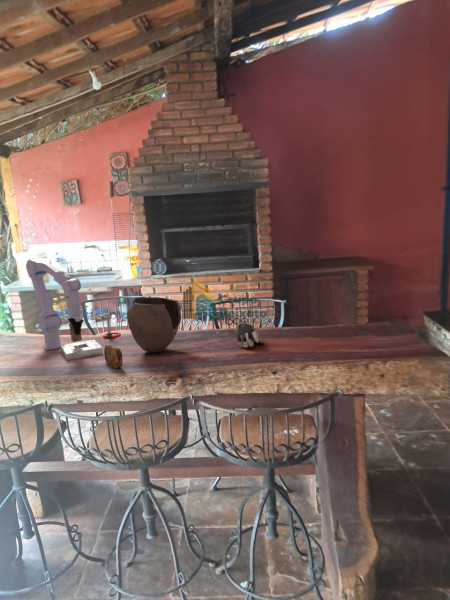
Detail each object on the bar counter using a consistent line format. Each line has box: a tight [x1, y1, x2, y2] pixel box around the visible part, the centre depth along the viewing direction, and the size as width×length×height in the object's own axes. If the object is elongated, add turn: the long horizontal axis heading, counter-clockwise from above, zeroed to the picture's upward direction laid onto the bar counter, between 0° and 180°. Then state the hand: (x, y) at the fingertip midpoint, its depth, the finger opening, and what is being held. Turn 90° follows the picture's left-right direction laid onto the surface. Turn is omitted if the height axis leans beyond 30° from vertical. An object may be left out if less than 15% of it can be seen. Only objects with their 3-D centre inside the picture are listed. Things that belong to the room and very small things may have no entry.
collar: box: [60, 339, 104, 361], centre depth 212 cm, size 16×16×3 cm
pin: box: [68, 322, 83, 343], centre depth 209 cm, size 4×4×8 cm
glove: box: [236, 322, 264, 348], centre depth 215 cm, size 12×10×25 cm
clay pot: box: [126, 296, 182, 354], centre depth 206 cm, size 24×24×25 cm
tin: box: [103, 344, 124, 369], centre depth 191 cm, size 15×3×8 cm, turn 35°
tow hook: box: [102, 313, 122, 339], centre depth 238 cm, size 8×13×9 cm
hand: (77, 333), depth 210 cm, fingers closed on pin, 4 cm apart
